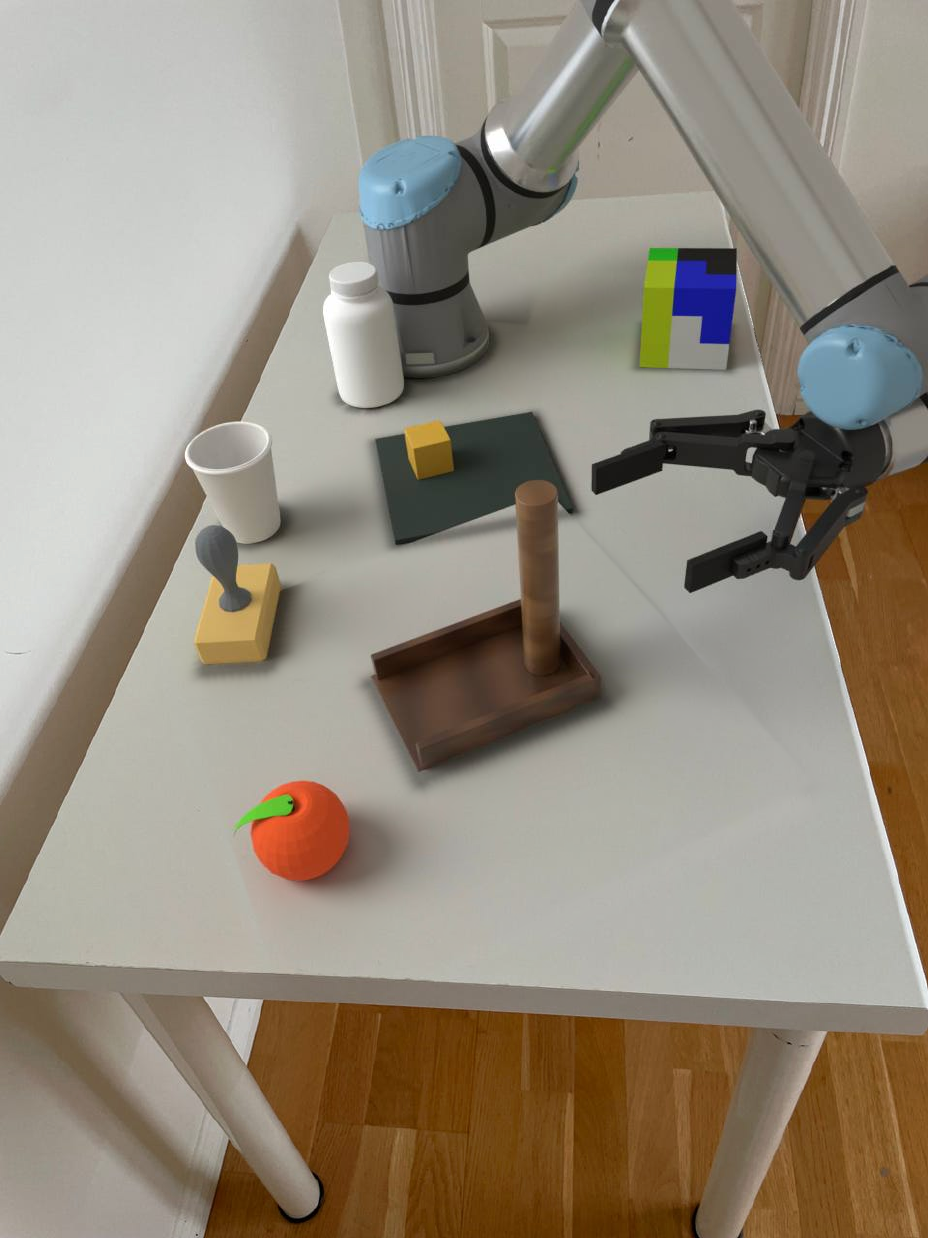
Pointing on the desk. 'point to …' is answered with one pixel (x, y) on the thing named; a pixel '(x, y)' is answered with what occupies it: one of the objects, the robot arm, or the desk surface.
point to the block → (429, 449)
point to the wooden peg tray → (491, 657)
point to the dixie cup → (238, 478)
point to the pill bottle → (362, 337)
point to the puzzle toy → (688, 308)
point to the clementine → (299, 830)
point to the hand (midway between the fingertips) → (637, 525)
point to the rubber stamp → (234, 602)
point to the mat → (466, 475)
